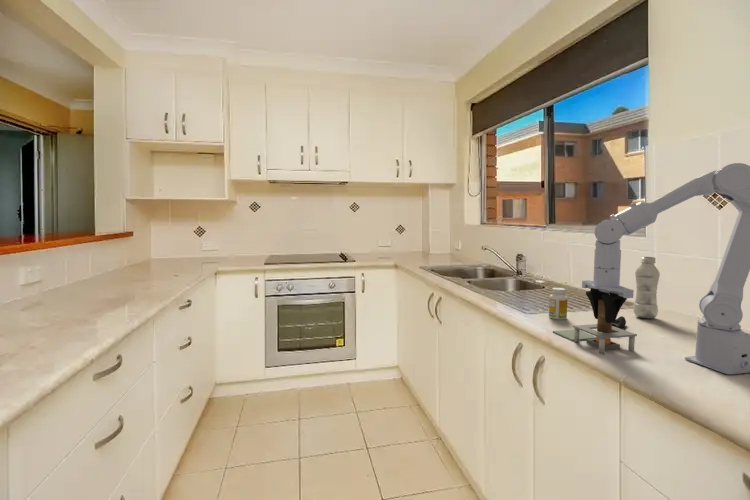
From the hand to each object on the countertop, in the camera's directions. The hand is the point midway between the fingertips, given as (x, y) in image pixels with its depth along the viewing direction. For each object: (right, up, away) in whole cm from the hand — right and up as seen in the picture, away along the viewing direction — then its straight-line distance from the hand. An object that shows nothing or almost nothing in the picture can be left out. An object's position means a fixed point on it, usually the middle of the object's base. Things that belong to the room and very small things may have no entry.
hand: (604, 320), depth 99 cm
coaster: (-3, -6, +9) cm, 11 cm away
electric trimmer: (+12, -6, +15) cm, 20 cm away
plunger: (0, -8, +1) cm, 8 cm away
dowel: (0, -3, 0) cm, 3 cm away
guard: (0, -7, +1) cm, 7 cm away
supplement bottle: (+1, -5, +28) cm, 29 cm away
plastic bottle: (+30, -5, +28) cm, 41 cm away
